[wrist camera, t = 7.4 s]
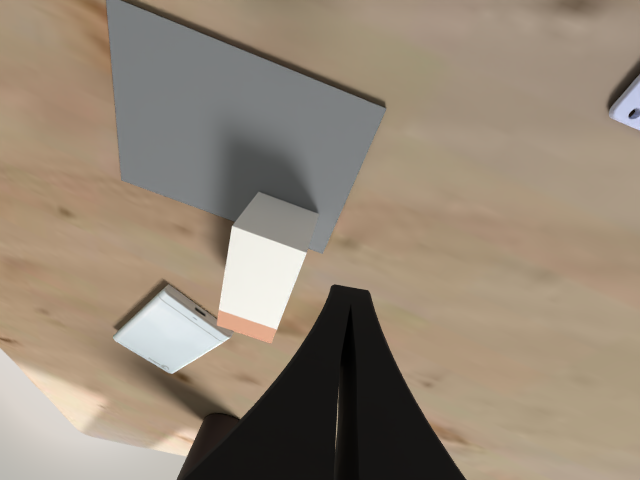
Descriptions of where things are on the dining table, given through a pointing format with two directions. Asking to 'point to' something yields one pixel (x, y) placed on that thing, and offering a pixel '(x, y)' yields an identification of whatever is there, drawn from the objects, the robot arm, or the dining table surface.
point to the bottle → (207, 438)
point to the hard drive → (171, 331)
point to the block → (263, 265)
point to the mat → (230, 123)
